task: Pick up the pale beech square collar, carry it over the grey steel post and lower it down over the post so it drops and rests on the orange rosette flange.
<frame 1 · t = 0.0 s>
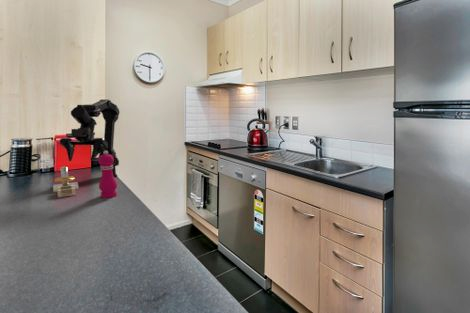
hand: (80, 161, 120), 15 cm above the countertop, tool tilted 35°, fingers open, 9 cm apart
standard: (66, 187, 132), on the countertop
pepper mill: (109, 196, 121), on the countertop
collar: (66, 194, 123), on the countertop
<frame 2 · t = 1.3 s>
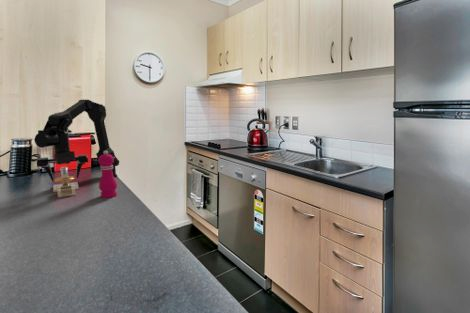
hand: (65, 179, 122), 7 cm above the countertop, tool pointing down, fingers open, 9 cm apart
nothing on the countertop moved.
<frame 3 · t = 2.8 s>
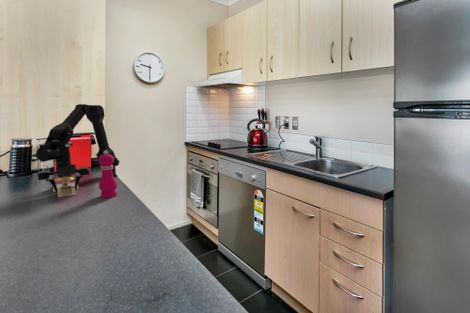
hand: (66, 191, 122), 1 cm above the countertop, tool pointing down, fingers closed on collar, 7 cm apart
collar: (66, 194, 123), on the countertop, touching gripper
everything else where it was.
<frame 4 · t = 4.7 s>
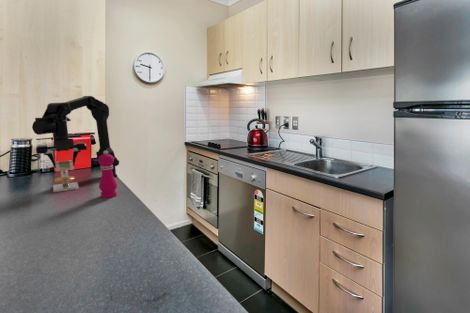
hand: (64, 166, 125), 12 cm above the countertop, tool pointing down, fingers closed on collar, 7 cm apart
collar: (64, 168, 125), point 10 cm above the countertop, touching gripper
everything else where it was.
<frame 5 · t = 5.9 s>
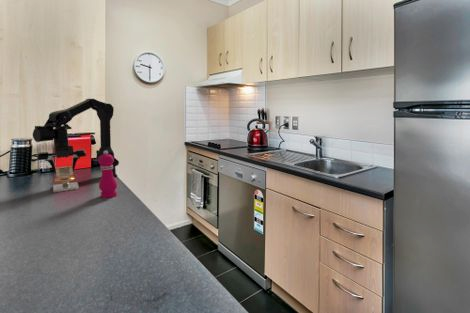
hand: (64, 172, 130), 8 cm above the countertop, tool pointing down, fingers closed on collar, 7 cm apart
collar: (64, 174, 131), point 7 cm above the countertop, touching gripper
everything else where it was.
when the fingers open (6 cm above the countertop, at t = 7.2 s): collar stays where it is, resting on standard.
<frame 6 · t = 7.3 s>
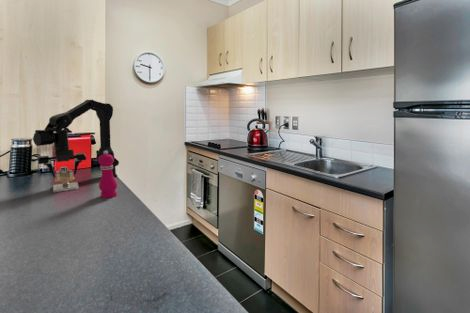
hand: (64, 176, 131), 6 cm above the countertop, tool pointing down, fingers open, 8 cm apart
collar: (65, 178, 131), point 5 cm above the countertop, touching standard
everything else where it was.
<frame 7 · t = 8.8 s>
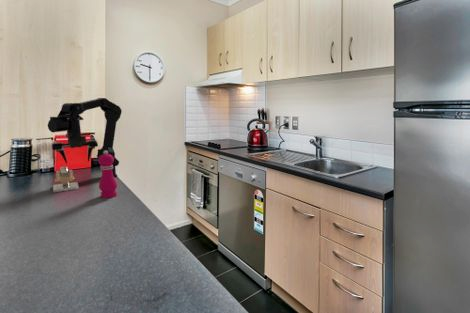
hand: (77, 162, 134), 12 cm above the countertop, tool pointing down, fingers open, 9 cm apart
nothing on the countertop moved.
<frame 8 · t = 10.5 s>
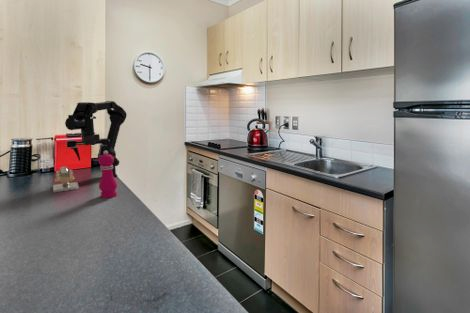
hand: (90, 159, 138), 12 cm above the countertop, tool pointing down, fingers open, 9 cm apart
nothing on the countertop moved.
at the end: collar 0.1 cm off-centre on the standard, point 4.8 cm above the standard's base; collar tilted 0°; the gripper is holding nothing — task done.
